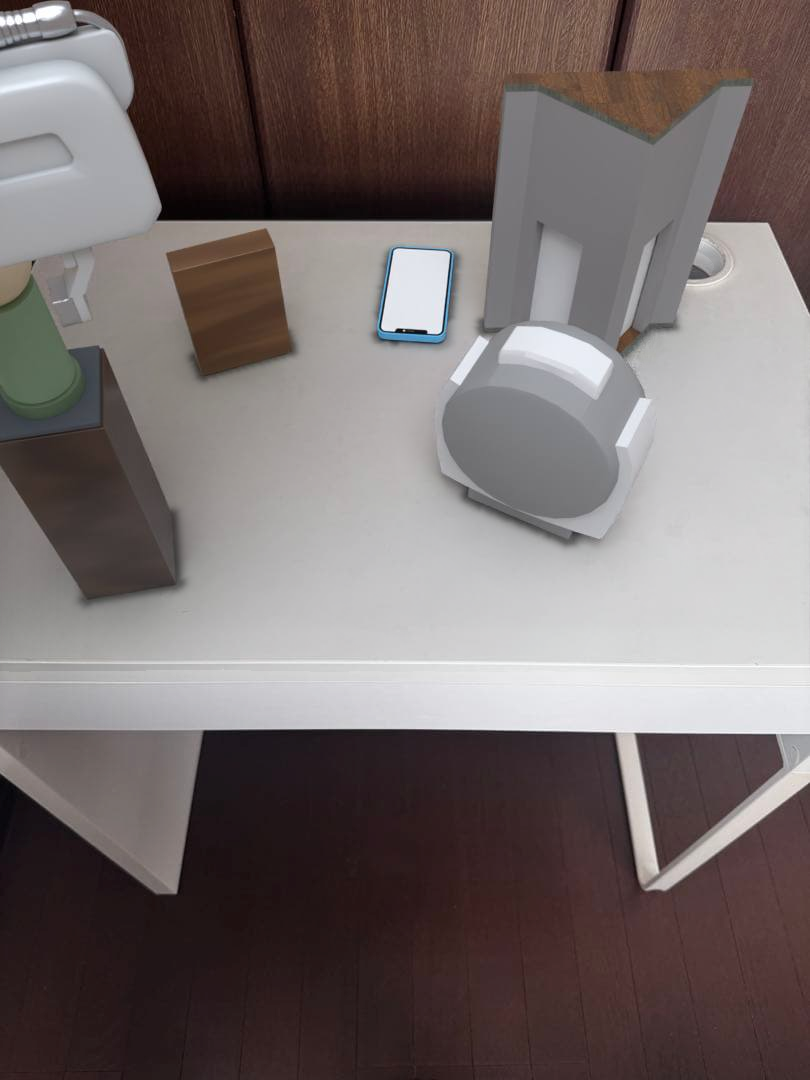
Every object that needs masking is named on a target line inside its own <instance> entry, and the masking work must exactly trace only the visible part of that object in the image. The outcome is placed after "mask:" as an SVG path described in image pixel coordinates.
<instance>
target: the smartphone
mask: <svg viewBox="0 0 810 1080" xmlns="http://www.w3.org/2000/svg"><path fill="white" fill-rule="evenodd" d="M454 255H455V254H454V252H453V251H452V250H451V249H448V248H438V247H420V246H405V245H404V246H403V245H397V246H394V247H392V248H391V249H390V250H389V255H388V261H387V266H386V267H387V268H386V273H385V279H384V285H383V291H382V297H381V303H380V307H379V308H380V309H379V315H378V320H377V326H376V327H377V328H376V329H377V336H378V337H379V338H380V339H383V340H390V341H392V340H393V341H404V342H405V341H408V342H420V343H421V342H423V343H441V342H443V341H444V340H445V338H446V334H447V326H448V325H447V324H448V317H449V307H450V297H451V287H452V276H453V268H454Z"/></svg>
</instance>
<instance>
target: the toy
mask: <svg viewBox="0 0 810 1080" xmlns="http://www.w3.org/2000/svg"><path fill="white" fill-rule="evenodd" d="M32 262H33V261H30V262H26V263H22V264H17V265H13V266H9V267H5V268H0V393H1V395H2V397H3V398H4V400H5V402H6V404H7V405H8V407H9V408H10V410H12V411H13V412H14V413H15V414H17V415H19V416H21V417H24V418H28V419H46V418H50V417H54V416H57V415H59V414H62V413H64V412H65V411H67V410H69V409H70V408H71V407H73V406H74V405H75V404H76V403H77V402H78V401H79V399H80V398H81V396H82V395H83V392H84V390H85V377H84V375H83V372H82V370H81V368H80V366H79V364H78V362H77V361H76V359H75V358H73V357H72V356H71V355H70V354H69V352H68V350H67V349H68V348H67V346H66V344H65V341H64V339H63V337H62V335H61V333H60V331H59V327H57V324H56V322H55V320H54V317H53V316H52V313H51V311H50V309H49V306H48V305H47V301H46V299H45V298H44V296H43V293H42V292H41V290H40V287H39V285H38V282H37V280H36V279H35V276H34V275H33V273H32V267H33V263H32Z"/></svg>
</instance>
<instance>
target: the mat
mask: <svg viewBox="0 0 810 1080" xmlns="http://www.w3.org/2000/svg"><path fill="white" fill-rule="evenodd" d="M100 348H101V347H100V345H98V344H97V345H90V346H83V347H76V348H67V350H68V352H69V354H70V355H71V356H72V357H73V358H75V359H76V361H77V362H78V364H79V366H80V368H81V370H82V372H83V375H84V377H85V390H84V392H83V395H82V396H81V398H80V399H79V401H78V402H77V403H76V404H75V405H74V406H73V407H71V408H70V409H69V410H67V411H65V412H64V413H62V414H59V415H57V416H54V417H50V418H46V419H28V418H24V417H21V416H19V415H17V414H15V413H14V412H13V411H12V410H10V408H9V407H8V405H7V404H6V402H5V400H4V398H3V397H2V395H1V393H0V441H5V440H12V439H18V438H25V437H32V436H38V435H45V434H52V433H58V432H65V431H72V430H79V429H85V428H92V427H99V426H101V349H100Z"/></svg>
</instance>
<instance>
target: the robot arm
mask: <svg viewBox="0 0 810 1080" xmlns="http://www.w3.org/2000/svg"><path fill="white" fill-rule="evenodd" d="M77 23H82V24H83V23H84V24H87V25H82V26H78V25H77ZM134 94H135V78H134V74H133V71H132V67H131V63H130V60H129V56H128V53H127V49H126V46H125V42H124V40H123V38H122V36H121V34H120V33H119V32H118V30H117V29H116V28H115V27H114V26H113V24H112V23H110V22H109V21H108V20H107V19H105V18H104V17H103V16H100V15H98V14H97V13H95V12H93V11H88V10H84V9H79V8H77V9H72V5H71V3H70V1H68V0H47V1H42V2H41V1H40V2H37V3H34V4H32V6H31V7H27V8H22V9H20V10H19V9H15V10H12V11H11V10H7V11H0V268H5V267H9V266H13V265H17V264H22V263H26V262H30V261H32V262H33V261H37V260H41V259H45V258H49V257H50V258H51V257H54V256H58V257H59V259H60V262H61V264H62V266H63V271H62V275H58V276H53V277H50V278H48V279H47V278H46V279H45V281H46V285H47V289H48V292H49V298H50V302H51V305H52V307H53V310H54V311H55V314H56V315H57V316H58V320H59V323H60V325H61V327H62V328H67V327H70V326H74V325H75V326H76V325H79V324H83V323H87V322H92V321H93V320H94V318H93V314H92V311H91V306H90V303H89V300H88V296H87V295H86V294H87V290H88V288H89V284H90V281H91V278H92V276H93V272H94V269H95V266H96V259H95V255H94V253H93V252H94V251H93V249H92V248H93V247H96V246H99V245H104V244H109V243H113V242H117V241H122V240H125V239H130V238H133V237H138V236H141V235H145V234H147V233H149V232H150V231H152V230H153V227H154V226H155V224H156V222H157V220H158V218H159V216H160V214H161V212H162V203H161V200H160V196H159V193H158V190H157V187H156V184H155V181H154V178H153V175H152V173H151V172H152V171H151V169H150V166H149V163H148V161H147V158H146V156H145V153H144V151H143V148H142V145H141V143H140V141H139V138H138V135H137V133H136V130H135V128H134V126H133V124H132V121H131V119H130V117H129V114H128V112H127V110H128V108H129V107H130V105H131V103H132V101H133V98H134Z"/></svg>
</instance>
